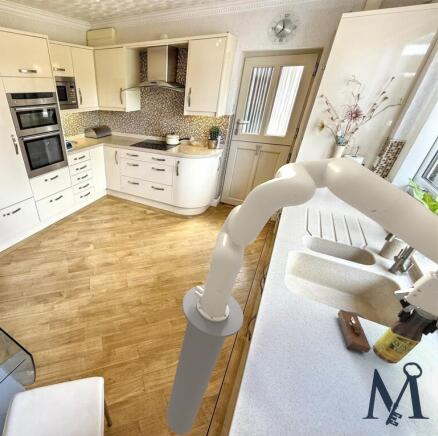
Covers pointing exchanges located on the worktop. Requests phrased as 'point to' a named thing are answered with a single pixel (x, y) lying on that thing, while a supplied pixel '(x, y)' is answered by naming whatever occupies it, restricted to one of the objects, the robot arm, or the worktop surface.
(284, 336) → the worktop surface
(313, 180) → the robot arm
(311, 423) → the worktop surface
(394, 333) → the sauce bottle
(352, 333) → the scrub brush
